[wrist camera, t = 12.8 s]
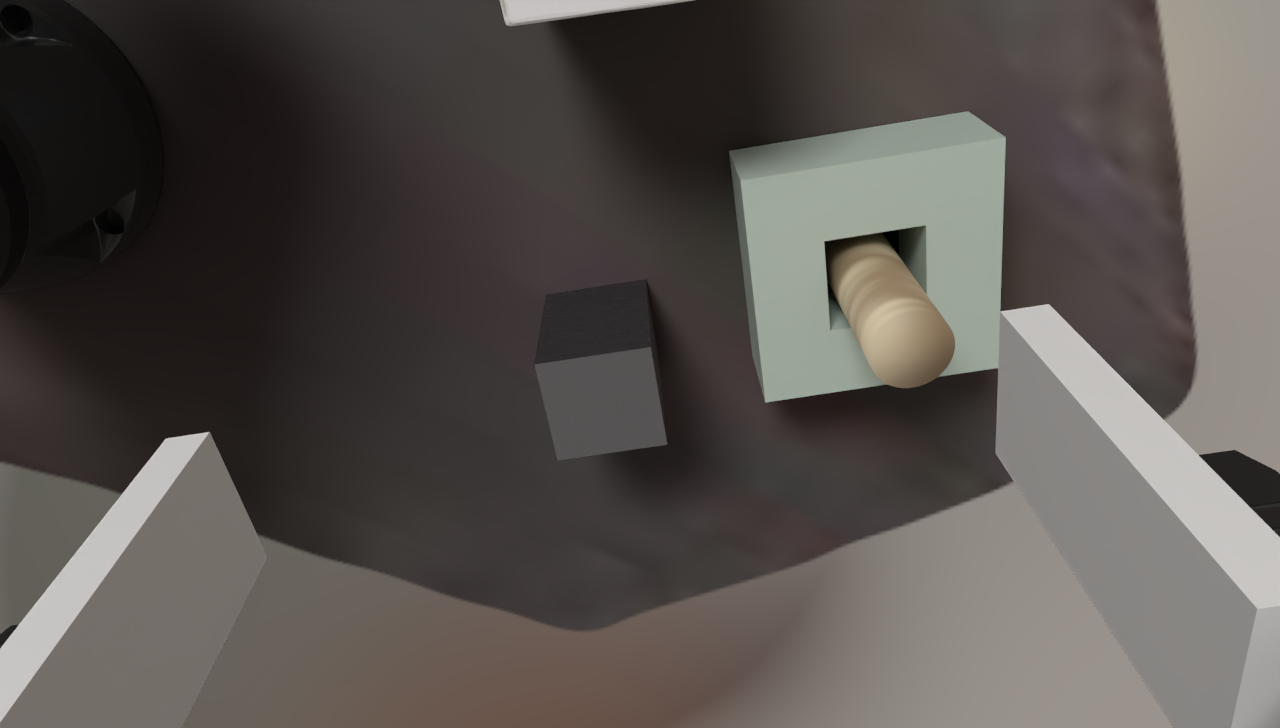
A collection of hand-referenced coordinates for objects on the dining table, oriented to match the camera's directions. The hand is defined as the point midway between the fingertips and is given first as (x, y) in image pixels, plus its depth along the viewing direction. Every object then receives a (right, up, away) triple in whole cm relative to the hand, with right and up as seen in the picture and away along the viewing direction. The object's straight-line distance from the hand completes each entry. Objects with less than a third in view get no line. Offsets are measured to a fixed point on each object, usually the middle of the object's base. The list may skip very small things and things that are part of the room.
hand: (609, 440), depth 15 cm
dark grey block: (-1, +3, +36) cm, 36 cm away
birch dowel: (+12, +8, +33) cm, 36 cm away
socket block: (+12, +8, +33) cm, 36 cm away
